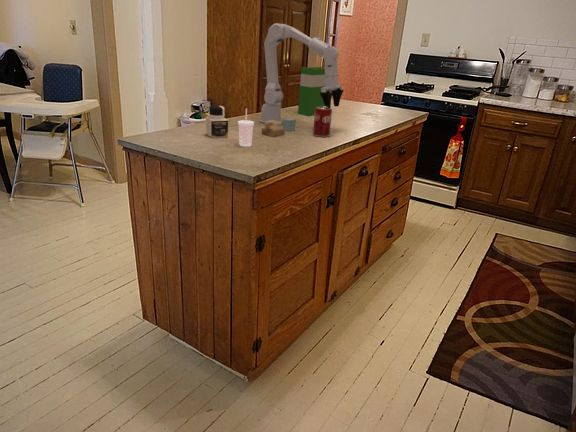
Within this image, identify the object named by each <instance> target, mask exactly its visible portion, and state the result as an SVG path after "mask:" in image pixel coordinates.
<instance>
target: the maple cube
mask: <svg viewBox="0 0 576 432" xmlns="http://www.w3.org/2000/svg"><path fill="white" fill-rule="evenodd" d="M282 123H283V121H280V122H279V121H274V120H272V121H265V123H264V124H265V125H264V128H265V129H269V130H273V131H275V130H280V129H283V124H282Z"/></svg>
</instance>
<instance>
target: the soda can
mask: <svg viewBox="0 0 576 432" xmlns="http://www.w3.org/2000/svg"><path fill="white" fill-rule="evenodd" d="M332 113H333V110H332V108H331V107H330V108H329V107H316V108H315V115H314V118H313V119H314V120H313V129H312V134H313V136H315V137H318V138H327V137H329V136H330V133H331V122H332Z"/></svg>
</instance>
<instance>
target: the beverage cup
mask: <svg viewBox="0 0 576 432" xmlns="http://www.w3.org/2000/svg"><path fill="white" fill-rule="evenodd" d="M237 124H238V140H239V146H240V147H245V148H247V147H251V146H252V144H253V131H254V125H255V121H252V120H248V108H245V119H242V120H238V121H237Z"/></svg>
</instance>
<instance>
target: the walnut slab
mask: <svg viewBox="0 0 576 432" xmlns="http://www.w3.org/2000/svg"><path fill="white" fill-rule="evenodd" d="M285 132H286V131H285V129H283V128H282V129H280V130H275V131H273V130H269V129H265V127H262V128H261V135H264V136H268V137H271V138H276V137H282V136H285V135H286V133H285Z"/></svg>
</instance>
